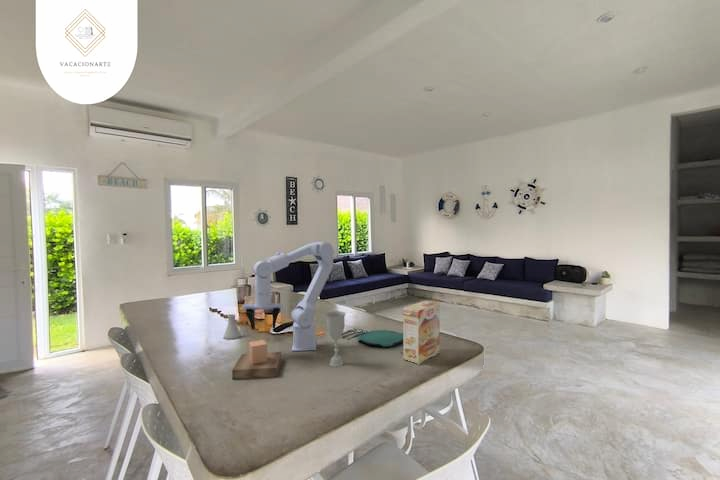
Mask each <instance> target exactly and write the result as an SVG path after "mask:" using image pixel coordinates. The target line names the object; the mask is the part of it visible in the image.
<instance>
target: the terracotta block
mask: <svg viewBox="0 0 720 480" xmlns="http://www.w3.org/2000/svg"><path fill="white" fill-rule="evenodd" d="M267 353H268V344H267V342H266V341H265V340H264V339H260V340H255V341H249V342H248V354H249V360H250V361H251V363H252V364H256V363H261V362H266V361H267Z"/></svg>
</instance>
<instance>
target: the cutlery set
mask: <svg viewBox="0 0 720 480" xmlns="http://www.w3.org/2000/svg"><path fill="white" fill-rule="evenodd" d="M357 330H362V332H360V331H357ZM357 330H356V329H355V331H354V330H352V329H347V330H346V331H345V332H344V331H343V333H342V335H341V337H340V339H344V338H346V337H347V338H346V340H347V341H349V339H352V338H355V337H357V339H356V340H357V341H360V342H362V343H363V344H367V345H370V346H376V347H377V346H380V347H383V348H387V347H388V348H389V347H392V346H396V345H398V344H401V343H403V332H397V331H393V330H386V329H375V330H370V331H368V330H365V331H363V329H362V328H361V329H359V328H358V329H357ZM359 332H360V333H359ZM365 332H366V333H365ZM347 333H348V334H347ZM353 334H354V335H353ZM351 335H353V336H351ZM348 336H351V337H348Z"/></svg>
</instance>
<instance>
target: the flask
mask: <svg viewBox="0 0 720 480" xmlns="http://www.w3.org/2000/svg"><path fill="white" fill-rule="evenodd" d="M227 318H228V320H227V326H226V329H225V332H224V335H223V339H224V340H236V339H239V338H240V337H241V336H242V334H241V332H240V330H239V327H238V325H237V322H236V314H234V313H232V314H231V313H230V314H228V315H227Z"/></svg>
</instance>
